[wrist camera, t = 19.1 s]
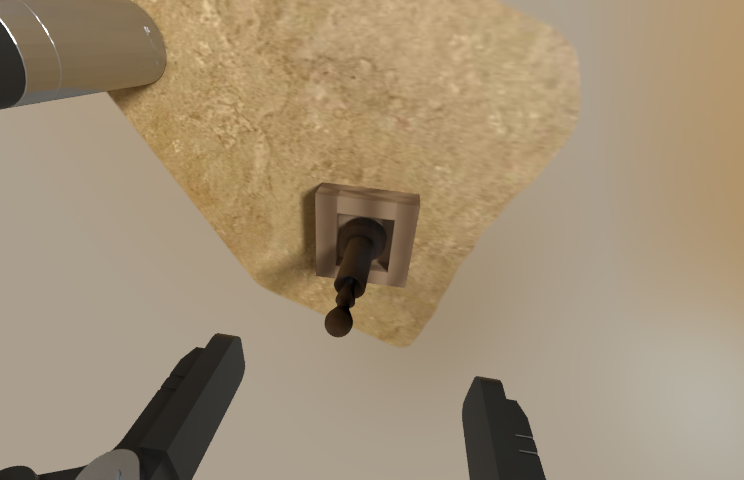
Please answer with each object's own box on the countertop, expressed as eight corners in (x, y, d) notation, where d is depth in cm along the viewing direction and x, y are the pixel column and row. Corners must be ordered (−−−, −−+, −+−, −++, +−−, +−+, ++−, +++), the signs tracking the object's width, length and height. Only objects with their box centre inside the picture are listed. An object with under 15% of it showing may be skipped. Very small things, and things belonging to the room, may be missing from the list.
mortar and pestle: (353, 256, 51) (322, 354, 37) (336, 223, 48) (293, 316, 33) (393, 247, 49) (375, 348, 34) (377, 212, 46) (350, 306, 31)
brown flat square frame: (322, 259, 54) (316, 275, 51) (323, 181, 47) (315, 193, 43) (405, 270, 54) (405, 287, 50) (419, 192, 46) (419, 206, 42)
